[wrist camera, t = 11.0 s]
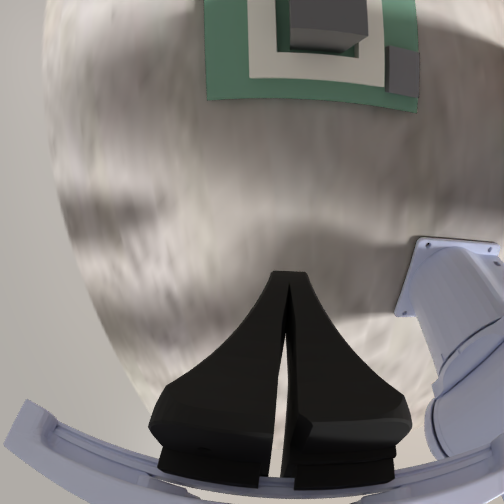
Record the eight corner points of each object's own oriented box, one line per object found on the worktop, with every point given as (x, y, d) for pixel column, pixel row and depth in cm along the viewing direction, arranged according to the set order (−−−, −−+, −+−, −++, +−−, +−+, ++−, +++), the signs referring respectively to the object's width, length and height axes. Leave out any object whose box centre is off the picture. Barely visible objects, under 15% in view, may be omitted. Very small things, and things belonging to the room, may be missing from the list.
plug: (338, -16, 10) (359, -56, 5) (341, 53, 13) (368, 36, 8) (287, -20, 11) (286, -64, 6) (289, 49, 13) (291, 27, 8)
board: (405, -29, 9) (416, -38, 7) (412, 112, 15) (424, 115, 13) (207, -42, 10) (198, -53, 9) (210, 100, 16) (201, 101, 14)
